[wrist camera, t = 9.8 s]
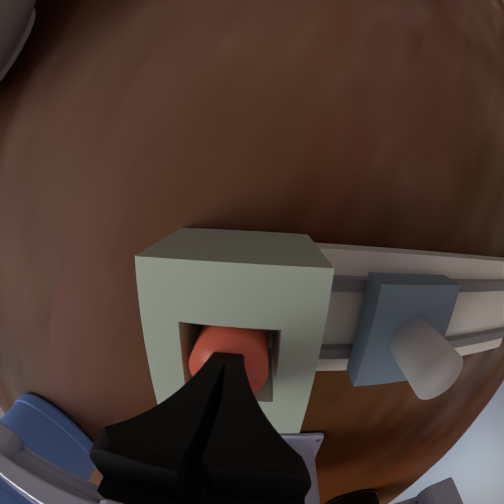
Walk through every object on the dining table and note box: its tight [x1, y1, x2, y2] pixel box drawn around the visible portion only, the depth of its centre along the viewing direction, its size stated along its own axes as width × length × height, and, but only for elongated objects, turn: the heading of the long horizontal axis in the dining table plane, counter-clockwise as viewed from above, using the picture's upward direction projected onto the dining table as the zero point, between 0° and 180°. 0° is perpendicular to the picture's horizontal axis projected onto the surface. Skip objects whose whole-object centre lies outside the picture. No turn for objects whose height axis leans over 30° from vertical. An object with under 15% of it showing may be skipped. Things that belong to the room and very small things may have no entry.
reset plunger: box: [189, 325, 268, 393], centre depth 13 cm, size 4×4×4 cm
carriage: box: [346, 272, 463, 400], centre depth 13 cm, size 7×6×6 cm
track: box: [135, 228, 504, 433], centre depth 15 cm, size 10×30×7 cm, turn 87°
